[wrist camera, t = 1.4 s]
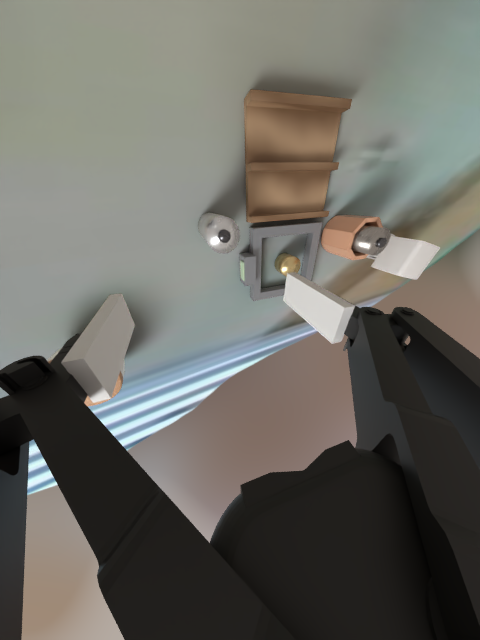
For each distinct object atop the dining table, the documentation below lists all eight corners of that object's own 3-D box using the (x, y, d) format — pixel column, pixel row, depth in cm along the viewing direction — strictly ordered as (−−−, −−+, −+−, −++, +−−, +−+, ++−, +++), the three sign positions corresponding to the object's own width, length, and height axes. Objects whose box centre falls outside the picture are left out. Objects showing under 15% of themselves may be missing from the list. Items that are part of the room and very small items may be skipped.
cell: (195, 213, 26) (204, 217, 19) (221, 211, 27) (240, 215, 20) (200, 242, 29) (209, 256, 21) (224, 239, 30) (241, 252, 22)
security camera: (354, 261, 41) (399, 276, 33) (372, 228, 37) (426, 235, 29) (372, 266, 43) (418, 280, 35) (391, 234, 40) (445, 242, 32)
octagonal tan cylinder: (325, 216, 33) (356, 219, 27) (353, 214, 34) (388, 216, 29) (318, 252, 36) (344, 261, 31) (343, 249, 38) (373, 257, 32)
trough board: (244, 98, 22) (250, 89, 20) (338, 106, 25) (351, 99, 23) (246, 221, 29) (251, 222, 27) (319, 215, 32) (328, 216, 30)
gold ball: (275, 254, 33) (283, 258, 30) (292, 252, 34) (301, 255, 31) (274, 273, 35) (281, 278, 32) (290, 270, 36) (298, 275, 33)
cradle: (236, 228, 29) (242, 230, 27) (315, 221, 33) (327, 222, 30) (240, 298, 37) (244, 305, 34) (304, 287, 40) (312, 292, 38)
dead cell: (330, 223, 33) (377, 229, 26) (348, 221, 34) (398, 227, 27) (325, 246, 36) (367, 257, 28) (342, 244, 36) (387, 254, 29)
